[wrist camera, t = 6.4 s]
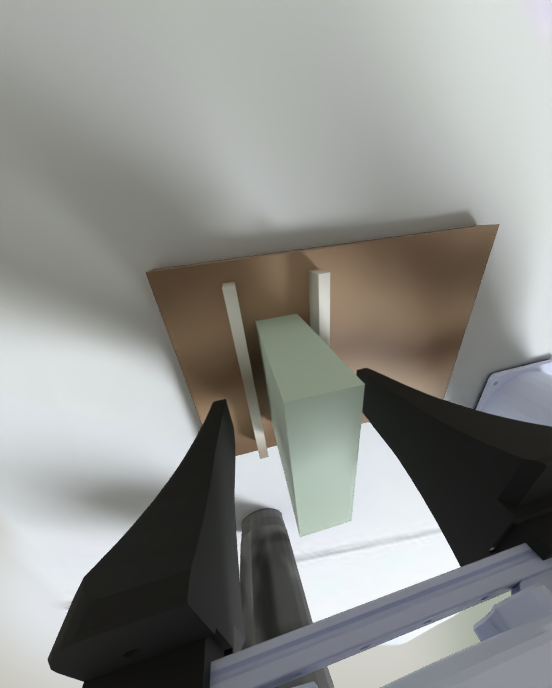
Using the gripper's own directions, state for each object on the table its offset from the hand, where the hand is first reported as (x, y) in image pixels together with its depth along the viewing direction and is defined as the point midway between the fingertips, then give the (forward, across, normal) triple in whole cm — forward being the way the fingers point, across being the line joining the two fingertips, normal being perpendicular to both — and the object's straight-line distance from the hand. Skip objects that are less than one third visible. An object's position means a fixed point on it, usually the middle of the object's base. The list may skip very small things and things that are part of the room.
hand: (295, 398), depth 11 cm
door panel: (+3, 0, 0) cm, 3 cm away
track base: (+4, -4, 0) cm, 6 cm away
